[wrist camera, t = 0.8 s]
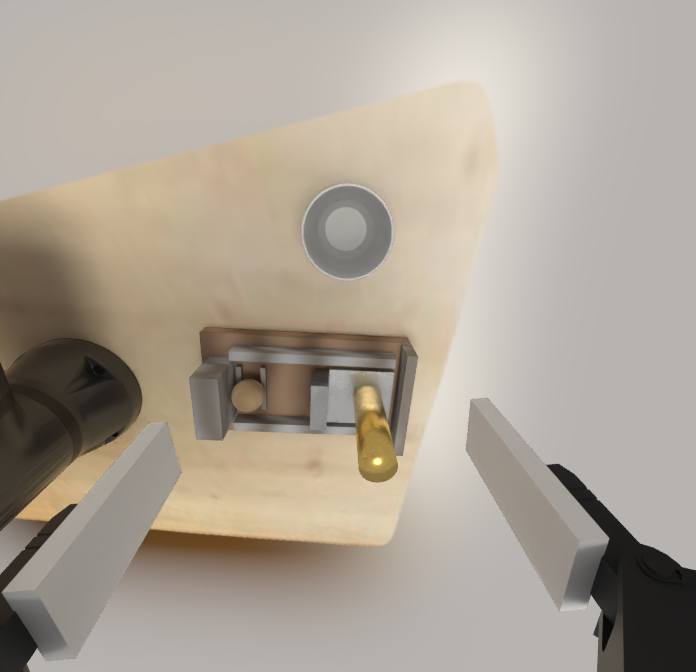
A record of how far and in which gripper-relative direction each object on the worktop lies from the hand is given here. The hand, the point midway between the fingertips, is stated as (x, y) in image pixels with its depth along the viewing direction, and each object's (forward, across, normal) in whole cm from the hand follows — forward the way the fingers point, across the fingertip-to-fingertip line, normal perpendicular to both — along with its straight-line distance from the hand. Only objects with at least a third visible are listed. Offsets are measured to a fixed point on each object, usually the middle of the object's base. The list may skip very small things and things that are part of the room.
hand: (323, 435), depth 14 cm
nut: (+26, -10, -11) cm, 30 cm away
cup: (+28, +3, +7) cm, 29 cm away
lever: (+25, +2, -13) cm, 29 cm away
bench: (+28, -4, -12) cm, 31 cm away
